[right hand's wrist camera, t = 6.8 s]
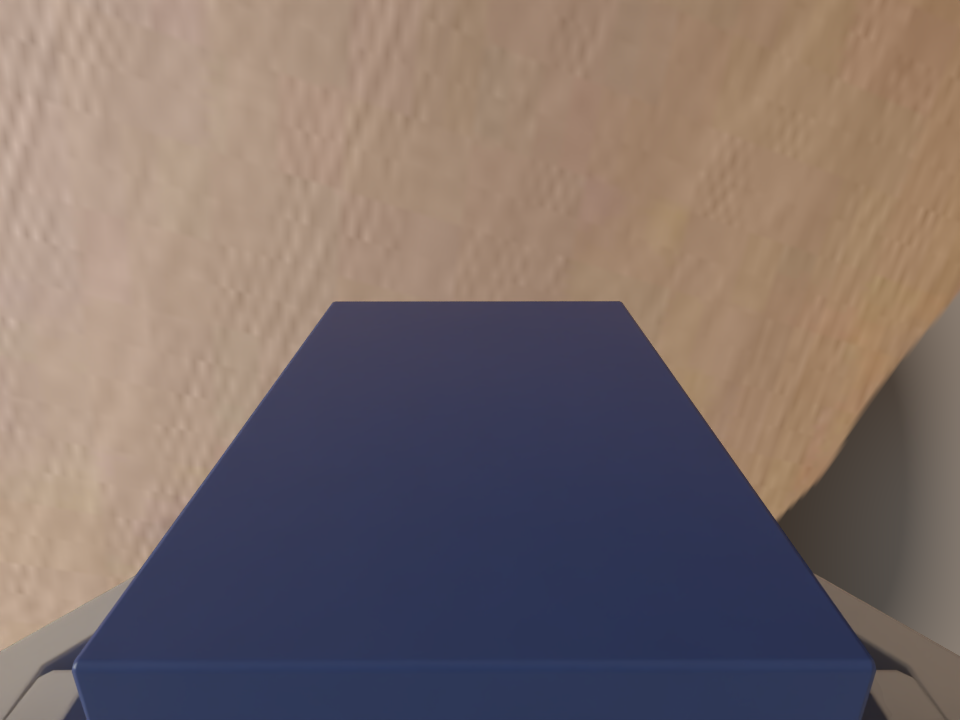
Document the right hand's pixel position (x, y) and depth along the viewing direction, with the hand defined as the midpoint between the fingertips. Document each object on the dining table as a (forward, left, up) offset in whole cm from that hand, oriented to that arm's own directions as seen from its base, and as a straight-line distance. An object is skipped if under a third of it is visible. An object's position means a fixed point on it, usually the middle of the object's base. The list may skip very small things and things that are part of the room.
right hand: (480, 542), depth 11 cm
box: (+7, 0, -4) cm, 9 cm away
